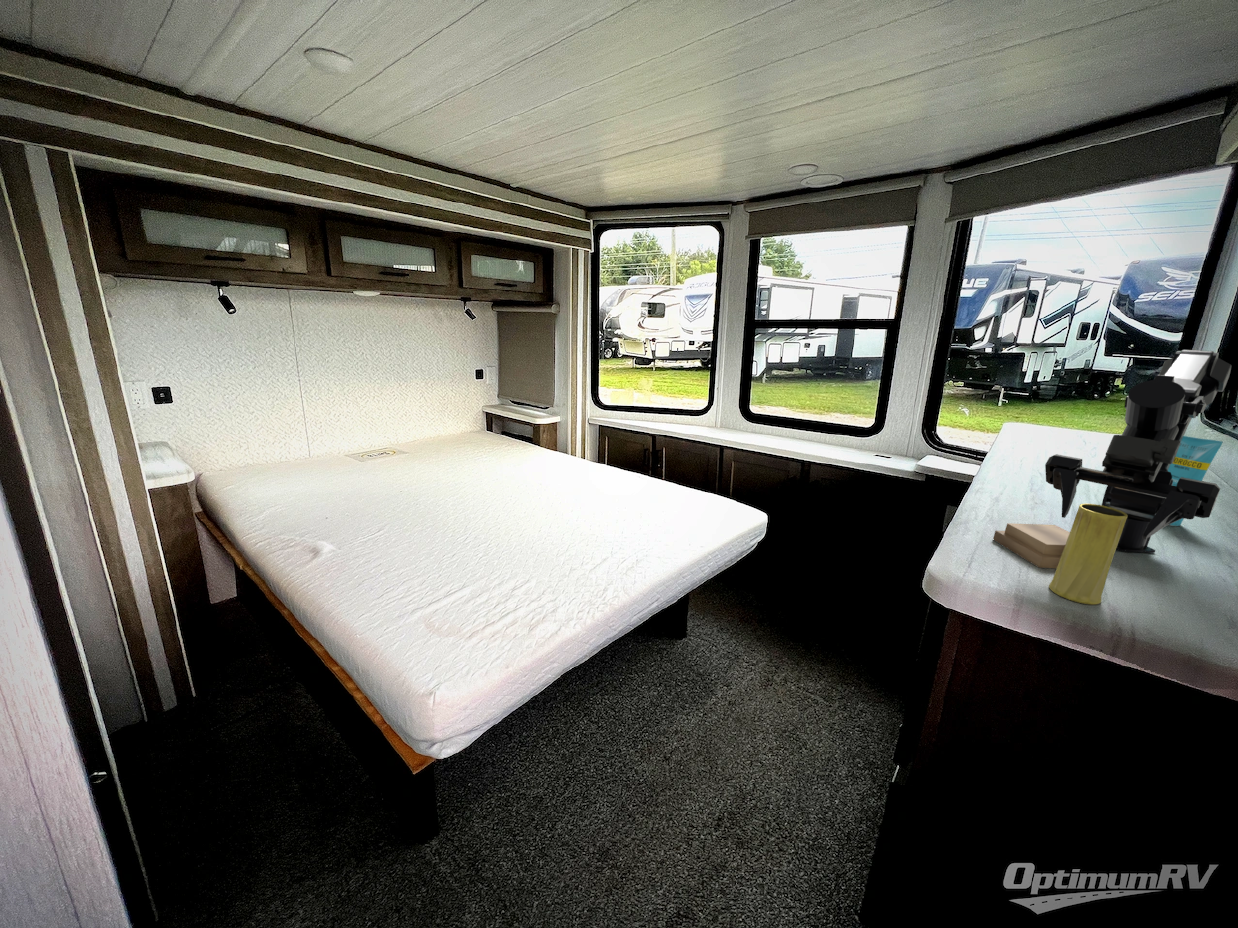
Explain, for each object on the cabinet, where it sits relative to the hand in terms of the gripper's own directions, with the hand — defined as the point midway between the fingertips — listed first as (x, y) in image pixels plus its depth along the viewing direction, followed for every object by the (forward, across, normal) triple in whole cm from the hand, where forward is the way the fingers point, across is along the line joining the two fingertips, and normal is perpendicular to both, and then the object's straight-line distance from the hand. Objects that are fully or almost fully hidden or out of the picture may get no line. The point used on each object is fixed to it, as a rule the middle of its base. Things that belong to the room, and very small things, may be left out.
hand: (1101, 526), depth 74 cm
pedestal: (0, -7, +15) cm, 17 cm away
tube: (-31, +2, +46) cm, 55 cm away
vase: (+10, 0, +5) cm, 12 cm away
